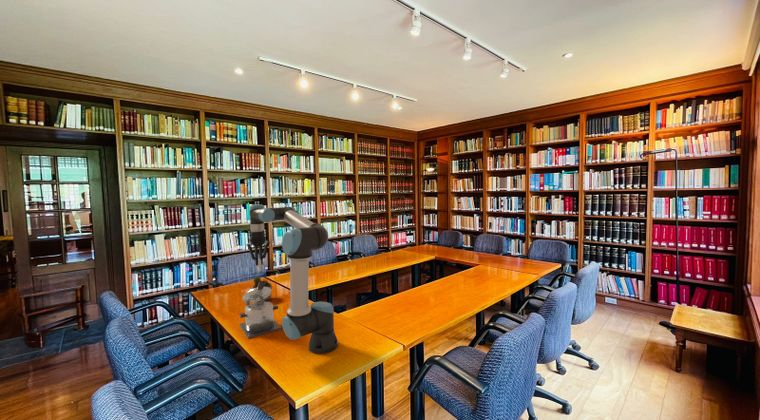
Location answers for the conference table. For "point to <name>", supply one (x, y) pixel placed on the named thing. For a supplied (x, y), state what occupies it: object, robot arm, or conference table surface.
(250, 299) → the lid
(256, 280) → the flowerpot
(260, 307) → the cooker
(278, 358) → the conference table surface
